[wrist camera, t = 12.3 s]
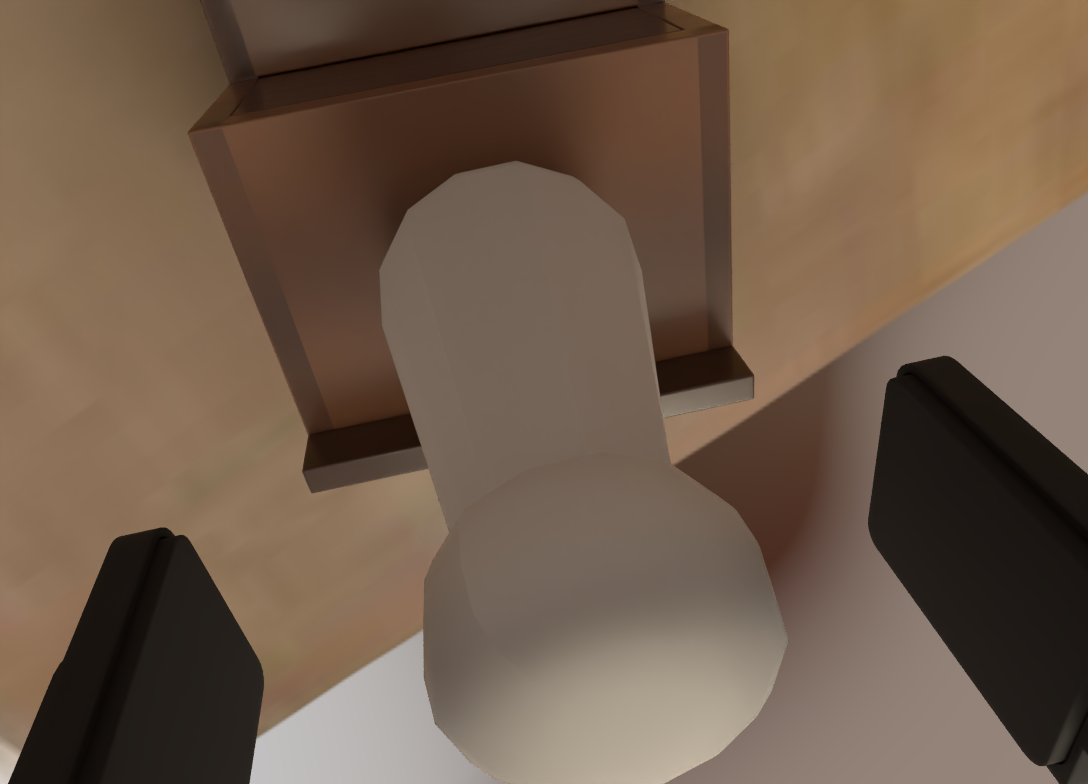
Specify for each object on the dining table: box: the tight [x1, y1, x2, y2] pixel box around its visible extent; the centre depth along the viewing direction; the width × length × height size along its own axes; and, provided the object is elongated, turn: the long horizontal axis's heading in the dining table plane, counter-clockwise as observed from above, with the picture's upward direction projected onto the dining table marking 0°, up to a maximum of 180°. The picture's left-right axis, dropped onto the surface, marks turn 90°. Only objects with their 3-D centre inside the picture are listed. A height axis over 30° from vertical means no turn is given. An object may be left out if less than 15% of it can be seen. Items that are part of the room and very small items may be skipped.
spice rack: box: [188, 0, 754, 493], centre depth 20 cm, size 16×12×11 cm
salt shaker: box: [379, 161, 788, 784], centre depth 14 cm, size 6×6×13 cm
